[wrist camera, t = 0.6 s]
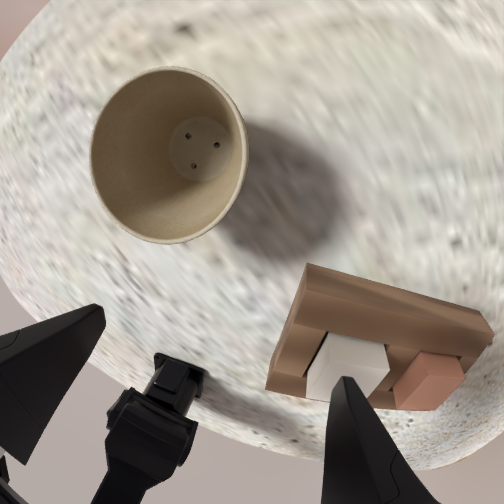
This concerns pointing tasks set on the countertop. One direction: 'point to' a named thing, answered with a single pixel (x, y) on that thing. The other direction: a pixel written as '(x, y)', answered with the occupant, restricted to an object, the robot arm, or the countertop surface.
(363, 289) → the key console
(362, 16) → the countertop surface
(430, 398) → the terracotta key
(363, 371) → the cream key
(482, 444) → the countertop surface
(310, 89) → the countertop surface
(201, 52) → the countertop surface
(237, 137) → the flower pot
